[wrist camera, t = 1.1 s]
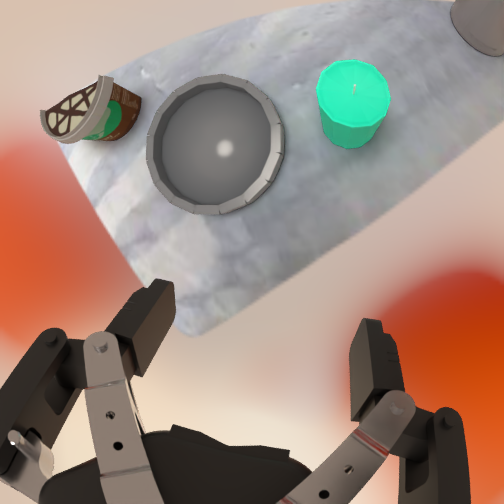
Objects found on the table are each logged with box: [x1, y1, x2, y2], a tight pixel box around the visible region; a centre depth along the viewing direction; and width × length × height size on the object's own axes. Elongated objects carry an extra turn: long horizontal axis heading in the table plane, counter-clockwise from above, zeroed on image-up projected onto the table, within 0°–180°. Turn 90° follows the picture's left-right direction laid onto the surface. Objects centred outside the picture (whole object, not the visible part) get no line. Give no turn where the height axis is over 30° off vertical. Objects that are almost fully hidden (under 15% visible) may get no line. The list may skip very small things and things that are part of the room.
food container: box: [40, 75, 141, 144], centre depth 33 cm, size 12×6×10 cm, turn 97°
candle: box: [316, 59, 391, 149], centre depth 24 cm, size 6×6×12 cm
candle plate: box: [146, 74, 285, 214], centre depth 33 cm, size 16×16×3 cm
